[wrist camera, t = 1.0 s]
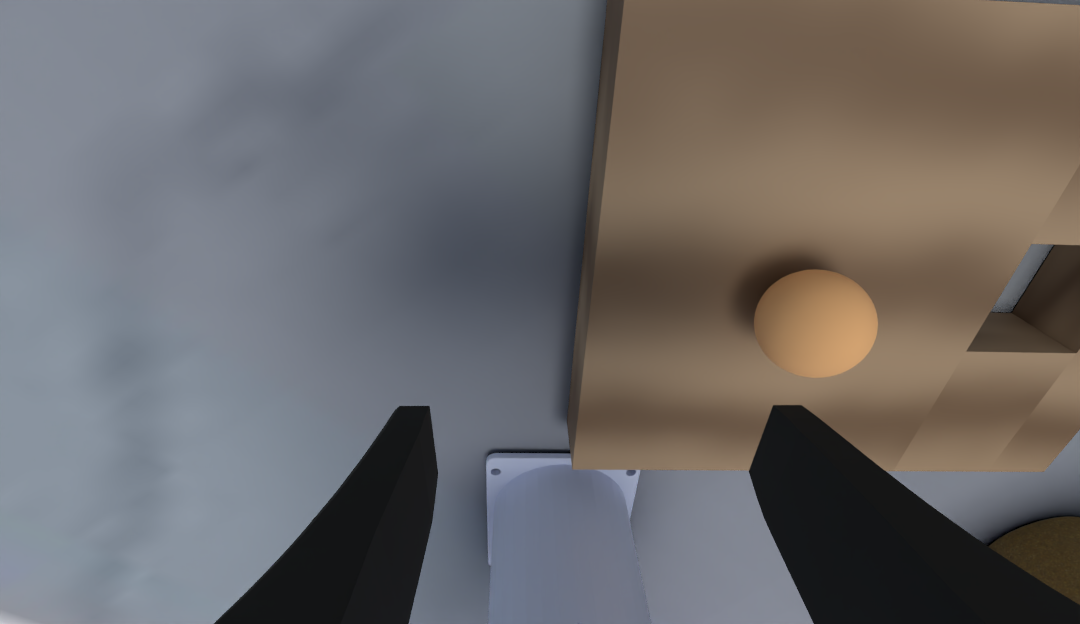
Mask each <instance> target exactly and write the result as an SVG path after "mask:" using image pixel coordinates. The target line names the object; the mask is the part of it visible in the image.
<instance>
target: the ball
mask: <svg viewBox="0 0 1080 624" xmlns="http://www.w3.org/2000/svg"><path fill="white" fill-rule="evenodd" d="M754 330H755V335H756V338H757V341H758V343H759V345H760V347H761V349H762V351H763V352H764V353H765V355H766V356H767V357H768V358H769V359H770V360H771V361H772V362H773V363H775V364H776V365H777V366H779V367H780V368H782V369H784V370H786V371H788V372H790V373H793V374H795V375H799V376H803V377H810V378H823V377H831V376H835V375H838V374H841V373H843V372H846V371H848V370H849V369H851V368H853V367H854V366H856V365H857V364H858V363H860V362H861V361H862V360H863V359H864V358H865V357H866V356H867V354H868V353H869V352H870V350H871V348H872V346H873V344H874V342H875V339H876V336H877V330H878V318H877V313H876V309H875V307H874V304H873V302H872V300H871V298H870V297H869V295H868V294H867V293H866V292H865V290H864V289H863V288H862V287H861V286H859V285H858V284H857V283H856V282H854V281H853V280H851V279H850V278H848V277H846V276H844V275H841V274H839V273H836V272H832V271H827V270H818V269H813V270H803V271H799V272H795V273H792V274H789V275H787V276H785V277H783V278H781V279H779V280H778V281H776V282H775V283H774V284H772V285H771V286H770V287H769V288H768V289H767V290H766V292H765V293H764V294H763V296H762V297H761V299H760V301H759V303H758V305H757V308H756V311H755V316H754Z"/></svg>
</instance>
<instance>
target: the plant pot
mask: <svg viewBox="0 0 1080 624" xmlns="http://www.w3.org/2000/svg"><path fill="white" fill-rule="evenodd" d="M988 547H989V548H991V549H992V550H994V551H995V552H997V553H998V554H1000V555H1002V556H1003V557H1005V558H1006V559H1008V560H1009V561H1011V562H1012V563H1014V564H1015V565H1017V566H1018V567H1020V568H1022V569H1023V570H1025V571H1026V572H1028V573H1029V574H1031V575H1032V576H1034V577H1035V578H1037V579H1038V580H1040V581H1042V582H1043V583H1045V584H1046V585H1048V586H1050V587H1051V588H1053V589H1054V590H1056V591H1058V592H1059V593H1061V594H1063V595H1064V596H1066V597H1068V598H1069V599H1071V600H1072V601H1074V602H1076V603H1077V604H1079V605H1080V517H1071V516H1066V517H1056V518H1050V519H1046V520H1041V521H1037V522H1035V523H1032V524H1028V525H1025V526H1023V527H1020V528H1018V529H1016V530H1014V531H1011V532H1009V533H1008V534H1006V535H1004V536H1002V537H1001V538H999V539H998V540H996V541H995V542H993V543H992V544H991V545H989V546H988Z"/></svg>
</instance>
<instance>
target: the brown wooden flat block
mask: <svg viewBox="0 0 1080 624" xmlns="http://www.w3.org/2000/svg"><path fill="white" fill-rule="evenodd" d="M1031 244H1055V246H1054V247H1053V249H1052V250H1051V252H1050V253H1049V255H1048V257H1047V258H1046V260H1045V261H1044V263H1043V264H1042V266H1041V268H1040V269H1039V271H1038V272H1037V274H1036V275H1035V277H1034V279H1033V280H1032V282H1031V283H1030V285H1029V286H1028V288H1027V290H1026V291H1025V293H1024V294H1023V296H1022V297H1021V299H1020V301H1019V302H1018V304H1017V305H1016V307H1015V308H1014V310H1013V312H1012V313H990V311H991V310H992V308H993V306H994V305H995V303H996V301H997V300H998V298H999V297H1000V295H1001V293H1002V292H1003V290H1004V288H1005V287H1006V285H1007V283H1008V282H1009V280H1010V278H1011V277H1012V275H1013V274H1014V272H1015V270H1016V269H1017V267H1018V265H1019V264H1020V262H1021V260H1022V259H1023V257H1024V255H1025V254H1026V252H1027V251H1028V249H1029V247H1030V246H1031ZM813 269H818V270H827V271H832V272H836V273H839V274H841V275H844V276H846V277H848V278H850V279H851V280H853V281H854V282H856V283H857V284H858V285H859V286H861V287H862V288H863V289H864V290H865V292H866V293H867V294H868V295H869V297H870V298H871V300H872V302H873V304H874V307H875V309H876V313H877V318H878V330H877V336H876V339H875V342H874V344H873V346H872V348H871V350H870V352H869V353H868V354H867V356H866V357H865V358H864V359H863V360H862V361H861V362H860V363H858V364H857V365H856V366H854V367H853V368H851V369H849V370H848V371H846V372H843V373H841V374H838V375H835V376H831V377H823V378H810V377H803V376H799V375H795V374H793V373H790V372H788V371H786V370H784V369H782V368H780V367H779V366H777V365H776V364H775V363H773V362H772V361H771V360H770V359H769V358H768V357H767V356H766V355H765V353H764V352H763V351H762V349H761V347H760V345H759V343H758V341H757V338H756V335H755V330H754V316H755V311H756V308H757V305H758V303H759V301H760V299H761V297H762V296H763V294H764V293H765V292H766V290H767V289H768V288H769V287H770V286H771V285H772V284H774V283H775V282H776V281H778V280H779V279H781V278H783V277H785V276H787V275H789V274H792V273H795V272H799V271H803V270H813ZM773 405H802V406H804V407H805V408H806V409H808V410H809V411H810V412H812V413H813V414H814V415H816V416H817V417H818V418H819V419H821V420H822V421H823V422H825V423H826V424H827V425H828V426H830V427H831V428H832V429H833V430H835V431H836V432H837V433H838V434H840V435H841V436H842V437H843V438H845V439H846V440H847V441H848V442H850V443H851V444H852V445H853V446H855V447H856V448H857V449H858V450H859V451H861V452H862V453H863V454H864V455H866V456H867V457H868V458H869V459H871V460H872V461H873V462H875V463H876V464H877V465H878V466H880V467H881V468H882V469H883V470H885V471H986V472H1044V471H1045V470H1046V469H1047V467H1048V466H1049V465H1050V464H1051V463H1052V462H1053V460H1054V459H1055V458H1056V457H1057V456H1058V454H1059V453H1060V452H1061V451H1062V450H1063V449H1064V447H1065V446H1066V445H1067V444H1068V443H1069V441H1070V440H1071V439H1072V438H1073V437H1074V435H1075V434H1076V433H1077V432H1078V431H1079V430H1080V5H1066V4H1047V3H1027V2H1008V1H989V0H607V9H606V19H605V30H604V40H603V50H602V61H601V71H600V82H599V92H598V103H597V113H596V124H595V134H594V144H593V155H592V165H591V176H590V186H589V197H588V207H587V218H586V228H585V239H584V249H583V259H582V270H581V280H580V291H579V301H578V312H577V322H576V333H575V343H574V353H573V364H572V374H571V385H570V395H569V406H568V416H567V426H568V435H569V444H570V454H571V463H572V470H749V469H750V466H751V464H752V461H753V458H754V456H755V453H756V450H757V447H758V445H759V442H760V439H761V437H762V434H763V431H764V429H765V426H766V423H767V420H768V418H769V415H770V412H771V410H772V407H773Z"/></svg>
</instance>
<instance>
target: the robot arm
mask: <svg viewBox="0 0 1080 624" xmlns="http://www.w3.org/2000/svg"><path fill="white" fill-rule="evenodd" d="M495 468H496V469H495ZM640 471H641V470H572V463H571V454H566V453H493V454H490V455H489V456H488V457H487V459H486V489H487V534H488V564H489V565H490V566H491V575H490V593H489V610H488V624H651V620H650V615H649V610H648V606H647V601H646V596H645V591H644V586H643V582H642V577H641V572H640V567H639V563H638V558H637V553H636V548H635V543H634V539H633V534H632V529H631V524H630V517H631V512H632V508H633V503H634V498H635V494H636V489H637V485H638V480H639V475H640ZM749 473H750V476H751V479H752V483H753V486H754V489H755V492H756V496H757V499H758V502H759V504H760V507H761V510H762V513H763V516H764V519H765V521H766V523H767V525H768V527H769V530H770V532H771V534H772V536H773V538H774V540H775V543H776V545H777V547H778V549H779V551H780V553H781V555H782V558H783V560H784V562H785V564H786V566H787V568H788V570H789V572H790V574H791V577H792V579H793V581H794V583H795V585H796V587H797V589H798V591H799V593H800V595H801V598H802V600H803V602H804V604H805V606H806V608H807V610H808V612H809V614H810V616H811V619H812V621H813V623H814V624H1080V605H1079V604H1077V603H1076V602H1074V601H1072V600H1071V599H1069V598H1068V597H1066V596H1064V595H1063V594H1061V593H1059V592H1058V591H1056V590H1054V589H1053V588H1051V587H1050V586H1048V585H1046V584H1045V583H1043V582H1042V581H1040V580H1038V579H1037V578H1035V577H1034V576H1032V575H1031V574H1029V573H1028V572H1026V571H1025V570H1023V569H1022V568H1020V567H1018V566H1017V565H1015V564H1014V563H1012V562H1011V561H1009V560H1008V559H1006V558H1005V557H1003V556H1002V555H1000V554H998V553H997V552H995V551H994V550H992V549H991V548H989V547H988V546H987V545H985V544H984V543H982V542H981V541H979V540H978V539H976V538H975V537H973V536H972V535H971V534H969V533H968V532H966V531H965V530H964V529H962V528H961V527H959V526H958V525H957V524H955V523H954V522H952V521H951V520H950V519H948V518H947V517H945V516H944V515H943V514H941V513H940V512H939V511H937V510H936V509H934V508H933V507H932V506H930V505H929V504H928V503H926V502H925V501H924V500H922V499H921V498H920V497H918V496H917V495H916V494H914V493H913V492H912V491H910V490H909V489H908V488H906V487H905V486H904V485H903V484H901V483H900V482H899V481H897V480H896V479H895V478H894V477H892V476H891V475H890V474H888V473H887V472H886V471H885V470H883V469H882V468H881V467H880V466H878V465H877V464H876V463H875V462H873V461H872V460H871V459H869V458H868V457H867V456H866V455H864V454H863V453H862V452H861V451H859V450H858V449H857V448H856V447H855V446H853V445H852V444H851V443H850V442H848V441H847V440H846V439H845V438H843V437H842V436H841V435H840V434H838V433H837V432H836V431H835V430H833V429H832V428H831V427H830V426H828V425H827V424H826V423H825V422H823V421H822V420H821V419H819V418H818V417H817V416H816V415H814V414H813V413H812V412H810V411H809V410H808V409H806V408H805V407H804V406H802V405H773V407H772V410H771V412H770V415H769V418H768V420H767V423H766V426H765V429H764V431H763V434H762V437H761V439H760V442H759V445H758V447H757V450H756V453H755V456H754V458H753V461H752V464H751V466H750V469H749ZM437 478H438V469H437V461H436V453H435V446H434V438H433V430H432V422H431V414H430V406H399V407H398V408H397V409H396V410H395V411H394V412H393V414H392V415H391V417H390V419H389V420H388V422H387V423H386V425H385V426H384V428H383V429H382V431H381V432H380V433H379V435H378V436H377V438H376V439H375V441H374V442H373V444H372V445H371V446H370V448H369V449H368V450H367V452H366V453H365V455H364V456H363V457H362V459H361V460H360V462H359V463H358V464H357V465H356V467H355V468H354V469H353V471H352V472H351V473H350V475H349V476H348V477H347V479H346V480H345V481H344V482H343V484H342V485H341V486H340V488H339V489H338V490H337V492H336V493H335V494H334V495H333V497H332V498H331V499H330V500H329V501H328V503H327V504H326V505H325V506H324V507H323V509H322V510H321V511H320V512H319V513H318V515H317V516H316V517H315V518H314V519H313V520H312V522H311V523H310V524H309V525H308V526H307V528H306V529H305V530H304V531H303V532H302V533H301V535H300V536H299V537H298V538H297V539H296V540H295V541H294V543H293V544H292V545H291V546H290V547H289V548H288V549H287V550H286V551H285V552H284V554H283V555H282V556H281V557H280V558H279V559H278V560H277V561H276V562H275V563H274V564H273V565H272V566H271V567H270V568H269V570H268V571H267V572H266V573H265V574H264V575H263V576H262V577H261V578H260V579H259V580H258V581H257V582H256V583H255V584H254V585H253V586H252V587H251V588H250V589H249V590H248V591H247V592H246V593H245V594H244V595H243V596H242V597H241V598H240V599H239V600H238V601H237V602H236V603H235V604H234V605H233V606H232V607H231V608H230V609H229V610H227V611H226V612H225V613H224V614H223V615H222V616H221V617H220V618H219V619H218V620H217V621H216V622H215V623H214V624H408V623H409V619H410V614H411V610H412V606H413V602H414V597H415V593H416V589H417V585H418V580H419V576H420V572H421V568H422V563H423V559H424V555H425V551H426V546H427V542H428V538H429V533H430V529H431V524H432V519H433V511H434V503H435V495H436V487H437Z"/></svg>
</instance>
